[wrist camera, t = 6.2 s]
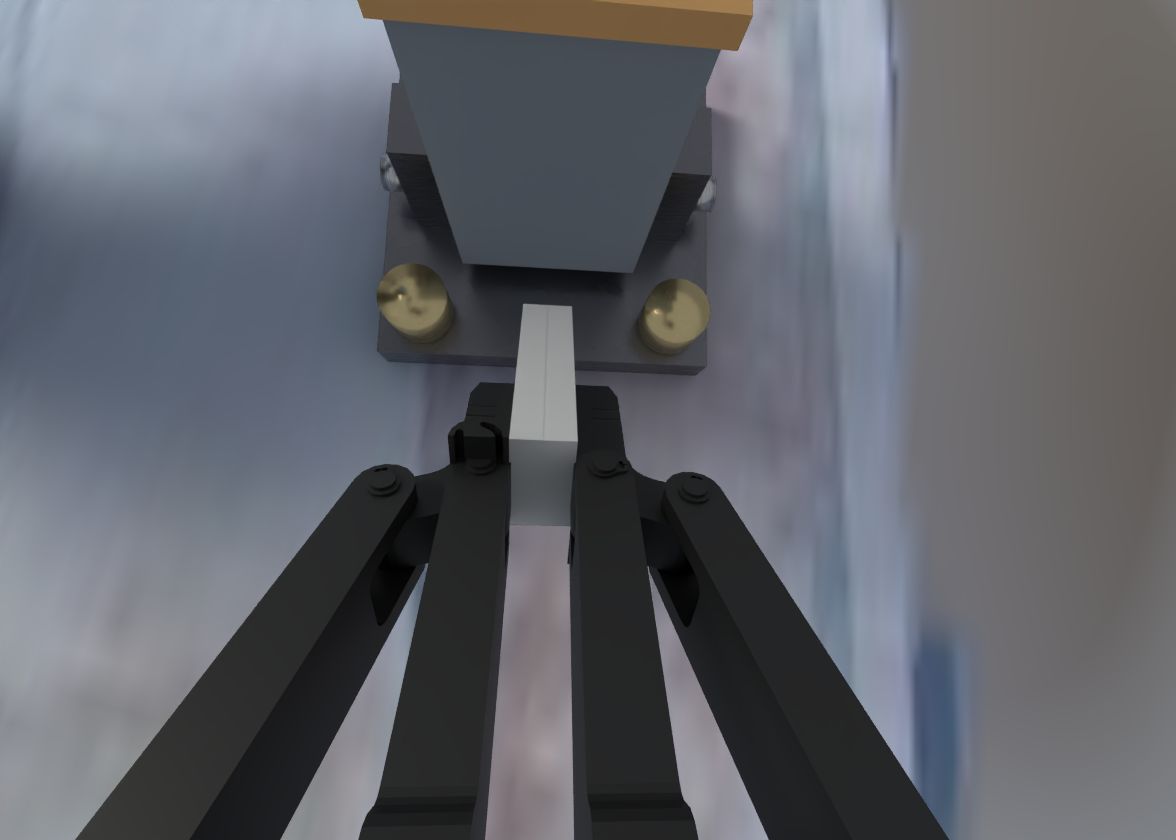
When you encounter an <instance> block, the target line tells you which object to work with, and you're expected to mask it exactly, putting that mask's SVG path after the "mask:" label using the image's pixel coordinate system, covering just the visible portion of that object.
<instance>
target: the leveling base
mask: <svg viewBox="0 0 1176 840" xmlns="http://www.w3.org/2000/svg"><path fill="white" fill-rule="evenodd" d="M380 170H381V180H382V184H383V187H384V189H385V190H386V191H390V201H389V213H388V226H387V238H386V250H385V262H384V274H383V278H382V280H381V282H380V284H379V286H378V290H377V302H378V306H379V308H380V323H379V335H378V347H377V352H379V353H380V354H381V355H382V356H383V357H384V358H385V359H386V360H387V361H391V362H414V363H436V364H458V365H480V366H503V367H517V359H518V350H519V340H520V331H521V321H522V312H523V304H537V305H555V306H572V321H573V344H574V367H575V370H592V371H614V372H636V373H658V374H681V375H697V374H698V373H699V372H700V371H701V370H703V369H704V368H705V367H706V326H707V324H708V322H709V319H710V304H709V301H708V298H707V296H706V212H711V211H712V209H713V206H714V203H715V198H716V190H717V183H716V178H715V177H711V108H706V88H705V91H704V94H703V96H702V99H701V101H700V104H699V106H698V109H697V111H696V114H695V116H694V119H693V121H692V124H691V127H690V129H689V132H688V134H687V137H686V139H685V142H684V144H683V147H682V149H681V152H680V155H679V157H678V160H677V162H676V165H675V167H674V170H673V172H672V175H671V177H670V180H669V182H668V185H667V188H666V190H665V193H664V195H663V198H662V200H661V203H660V205H659V208H658V210H657V213H656V216H655V218H654V221H653V223H652V226H651V228H650V231H649V233H648V236H647V238H646V241H645V243H644V246H643V249H642V251H641V254H640V256H639V259H638V261H637V264H636V266H635V269H634V271H633V273H621V272H604V271H587V270H569V269H552V268H535V267H518V266H500V265H483V264H466V263H462V260H461V257H460V254H459V250H458V247H457V244H456V241H455V238H454V235H453V232H452V229H451V226H450V223H449V220H448V217H447V214H446V211H445V208H444V205H443V202H442V199H441V196H440V193H439V190H438V187H437V184H436V181H435V177H434V174H433V171H432V168H431V165H430V162H429V159H428V156H427V153H426V150H425V147H424V144H423V141H422V138H421V135H420V132H419V129H418V126H417V123H416V120H415V117H414V114H413V111H412V108H411V105H410V101H409V98H408V95H407V92H406V89H405V86H404V83H403V80H402V77H401V74H400V80H399V83H392V91H391V103H390V114H389V126H388V138H387V150H386V153H383V154H382V157H381V164H380Z"/></svg>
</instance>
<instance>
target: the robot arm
mask: <svg viewBox="0 0 1176 840" xmlns="http://www.w3.org/2000/svg"><path fill="white" fill-rule="evenodd" d="M448 444H449V455H450V464H449V465H448V466H446V467H445V468H443V469H441V470H439V471H436V472H433V473H429V474H425V475H420V476H415V477H414V475H413V474H412V473H411V472H410V471H409V470H408V469H407V468H405V467H402V466H399V465H391V464H384V465H379V466H374V467H372V468H370V469H367V470H365V471H363V472H362V473H361V474H360V475H359V476H357V477H356V478H355V479H354V481H353V482H352V483H351V484H350V486H349V487H348V488H347V490H346V491H345V492H344V493H343V495H342V496H341V497H340V499H339V500H338V501H337V502H336V504H335V505H334V506H333V508H332V509H331V510H330V512H329V513H328V514H327V515H326V517H325V518H324V519H323V521H322V522H321V523H320V524H319V526H318V527H317V528H316V530H315V531H314V532H313V533H312V535H311V536H310V537H309V539H308V540H307V541H306V543H305V544H304V545H303V546H302V548H301V549H300V550H299V552H298V553H297V554H296V555H295V557H294V558H293V559H292V561H291V562H290V563H289V564H288V566H287V567H286V568H285V570H284V571H283V572H282V574H281V575H280V576H279V577H278V579H277V580H276V581H275V583H274V584H273V585H272V586H271V588H270V589H269V590H268V592H267V593H266V594H265V595H264V597H263V598H262V599H261V601H260V602H259V603H258V604H257V606H256V607H255V608H254V610H253V611H252V612H251V614H250V615H249V616H248V617H247V619H246V620H245V621H244V623H243V624H242V625H241V626H240V628H239V629H238V630H237V632H236V633H235V634H234V635H233V637H232V638H231V639H230V641H229V642H228V643H227V645H226V646H225V647H224V648H223V650H222V651H221V652H220V654H219V655H218V656H217V657H216V659H215V660H214V661H213V663H212V664H211V665H210V666H209V668H208V669H207V670H206V672H205V673H204V674H203V676H202V677H201V678H200V679H199V681H198V682H197V683H196V685H195V686H194V687H193V688H192V690H191V691H190V692H189V694H188V695H187V696H186V697H185V699H184V700H183V701H182V703H181V704H180V705H179V706H178V708H177V709H176V710H175V712H174V713H173V714H172V716H171V717H170V718H169V719H168V721H167V722H166V723H165V725H164V726H163V727H162V728H161V730H160V731H159V732H158V734H157V735H156V736H155V737H154V739H153V740H152V741H151V743H150V744H149V745H148V747H147V748H146V749H145V750H144V752H143V753H142V754H141V756H140V757H139V758H138V759H137V761H136V762H135V763H134V765H133V766H132V767H131V768H130V770H129V771H128V772H127V774H126V775H125V776H124V778H123V779H122V780H121V781H120V783H119V784H118V785H117V787H116V788H115V789H114V790H113V792H112V793H111V794H110V796H109V797H108V798H107V799H106V801H105V802H104V803H103V805H102V806H101V807H100V808H99V810H98V811H97V812H96V814H95V815H94V816H93V818H92V819H91V820H90V821H89V823H88V824H87V825H86V827H85V828H84V829H83V830H82V832H81V833H80V834H79V836H78V837H77V838H76V839H75V840H280V839H281V837H282V835H283V833H284V832H285V830H286V828H287V826H288V824H289V822H290V820H291V818H292V816H293V815H294V813H295V811H296V809H297V807H298V805H299V803H300V801H301V800H302V798H303V796H304V794H305V792H306V790H307V788H308V786H309V785H310V783H311V781H312V779H313V777H314V775H315V773H316V771H317V769H318V768H319V766H320V764H321V762H322V760H323V758H324V756H325V754H326V753H327V751H328V749H329V747H330V745H331V743H332V741H333V739H334V738H335V736H336V734H337V732H338V730H339V728H340V726H341V724H342V722H343V721H344V719H345V717H346V715H347V713H348V711H349V709H350V707H351V706H352V704H353V702H354V700H355V698H356V696H357V694H358V692H359V691H360V689H361V687H362V685H363V683H364V681H365V679H366V677H367V675H368V674H369V672H370V670H371V668H372V666H373V664H374V662H375V660H376V659H377V657H378V655H379V653H380V651H381V649H382V647H383V645H384V643H385V642H386V640H387V638H388V636H389V634H390V632H391V630H392V628H393V627H394V625H395V623H396V621H397V619H398V617H399V615H400V613H401V612H402V610H403V608H404V606H405V604H406V602H407V600H408V598H409V596H410V595H411V593H412V591H413V589H414V587H415V585H416V583H417V581H418V580H419V578H420V576H421V574H422V572H423V570H424V568H425V564H426V563H429V564H428V569H427V573H426V578H425V582H424V587H423V592H422V596H421V601H420V605H419V610H418V615H417V619H416V624H415V628H414V633H413V638H412V642H411V647H410V651H409V656H408V661H407V665H406V670H405V674H404V679H403V684H402V688H401V693H400V697H399V702H398V707H397V711H396V716H395V720H394V725H393V730H392V734H391V739H390V743H389V748H388V753H387V757H386V762H385V766H384V771H383V776H382V780H381V785H380V789H379V793H378V797H377V800H376V802H375V805H374V806H373V807H372V809H371V810H370V811H369V812H368V814H367V815H366V818H365V820H364V823H363V825H362V828H361V832H360V836H359V839H358V840H485V832H486V820H487V808H488V796H489V784H490V772H491V759H492V747H493V735H494V723H495V711H496V699H497V686H498V674H499V662H500V650H501V638H502V626H503V613H504V601H505V589H506V577H507V565H508V553H509V526H510V525H543V526H570V525H571V529H570V540H569V552H568V563H567V564H570V618H571V677H572V737H573V796H574V840H698V835H697V830H696V825H695V820H694V817H693V814H692V812H691V809H690V807H689V806H688V805H687V803H686V802H685V801H684V799H683V796H682V793H681V788H680V783H679V776H678V769H677V763H676V756H675V749H674V743H673V736H672V729H671V722H670V716H669V709H668V702H667V696H666V689H665V682H664V675H663V669H662V662H661V655H660V649H659V642H658V635H657V628H656V622H655V615H654V608H653V602H652V595H651V588H650V581H649V575H648V568H647V566H649V571H650V574H651V576H652V578H653V580H654V583H655V585H656V587H657V589H658V592H659V594H660V596H661V598H662V601H663V603H664V605H665V607H666V610H667V612H668V614H669V616H670V619H671V621H672V623H673V625H674V628H675V630H676V632H677V634H678V637H679V639H680V641H681V643H682V646H683V648H684V650H685V652H686V655H687V657H688V659H689V661H690V664H691V666H692V668H693V670H694V673H695V675H696V677H697V679H698V682H699V684H700V686H701V688H702V691H703V693H704V695H705V697H706V700H707V702H708V704H709V706H710V709H711V711H712V713H713V715H714V718H715V720H716V722H717V724H718V727H719V729H720V731H721V733H722V736H723V738H724V740H725V742H726V745H727V747H728V749H729V751H730V753H731V756H732V758H733V760H734V762H735V765H736V767H737V769H738V771H739V774H740V776H741V778H742V780H743V783H744V785H745V787H746V789H747V792H748V794H749V796H750V798H751V801H752V803H753V805H754V807H755V810H756V812H757V814H758V816H759V819H760V821H761V823H762V825H763V828H764V830H765V832H766V834H767V837H768V839H769V840H949V839H948V837H947V836H946V834H945V833H944V831H943V830H942V828H941V826H940V825H939V823H938V822H937V820H936V819H935V817H934V816H933V814H932V813H931V811H930V810H929V808H928V806H927V805H926V803H925V802H924V800H923V799H922V797H921V796H920V794H919V793H918V791H917V790H916V788H915V786H914V785H913V783H912V782H911V780H910V779H909V777H908V776H907V774H906V773H905V771H904V770H903V768H902V766H901V765H900V763H899V762H898V760H897V759H896V757H895V756H894V754H893V753H892V751H891V750H890V748H889V746H888V745H887V743H886V742H885V740H884V739H883V737H882V736H881V734H880V733H879V731H878V730H877V728H876V726H875V725H874V723H873V722H872V720H871V719H870V717H869V716H868V714H867V713H866V711H865V710H864V708H863V706H862V705H861V703H860V702H859V700H858V699H857V697H856V696H855V694H854V693H853V691H852V690H851V688H850V686H849V685H848V683H847V682H846V680H845V679H844V677H843V676H842V674H841V673H840V671H839V670H838V668H837V666H836V665H835V663H834V662H833V660H832V659H831V657H830V656H829V654H828V653H827V651H826V650H825V648H824V646H823V645H822V643H821V642H820V640H819V639H818V637H817V636H816V634H815V633H814V631H813V630H812V628H811V626H810V625H809V623H808V622H807V620H806V619H805V617H804V616H803V614H802V613H801V611H800V610H799V608H798V606H797V605H796V603H795V602H794V600H793V599H792V597H791V596H790V594H789V593H788V591H787V590H786V588H785V586H784V585H783V583H782V582H781V580H780V579H779V577H778V576H777V574H776V573H775V571H774V570H773V568H772V566H771V565H770V563H769V562H768V560H767V559H766V557H765V556H764V554H763V553H762V551H761V550H760V548H759V546H758V545H757V543H756V542H755V540H754V539H753V537H752V536H751V534H750V533H749V531H748V530H747V528H746V526H745V525H744V523H743V522H742V520H741V519H740V517H739V516H738V514H737V513H736V511H735V510H734V508H733V506H732V505H731V503H730V502H729V500H728V499H727V497H726V496H725V494H724V493H723V491H722V490H721V488H720V487H719V486H718V485H717V484H716V483H715V482H714V481H713V480H712V479H710V478H708V477H706V476H705V475H702V474H698V473H694V472H681V473H678V474H675V475H673V476H671V477H670V478H669V479H668V480H667V482H666V483H665V482H662V481H658V480H654V479H651V478H648V477H646V476H643V475H642V474H640V473H638V472H637V471H635V470H634V469H633V468H632V466H631V464H630V462H629V461H628V460H627V458H626V455H625V448H624V440H623V433H622V426H621V422H620V412H619V405H618V398H617V396H616V395H615V394H614V393H613V391H612V390H611V389H610V388H609V387H608V386H585V385H575V367H574V344H573V321H572V306H555V305H537V304H523V312H522V321H521V331H520V340H519V350H518V359H517V368H516V378H515V384H509V383H485V382H480V383H479V384H478V386H477V387H476V388H475V389H474V390H473V391H472V392H471V393H470V398H469V403H468V408H467V412H466V417H465V421H463V422H460V423H458V424H457V425H456V426H454V427H453V428H452V429H451V431H450V432H449V434H448Z"/></svg>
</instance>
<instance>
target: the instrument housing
mask: <svg viewBox="0 0 1176 840" xmlns="http://www.w3.org/2000/svg"><path fill="white" fill-rule="evenodd" d="M357 1H358V3H359V6H360V9H361V12H362V14H363V17H364V18H369V19H380V20H383V22H384V25H385V29H386V32H387V35H388V38H389V41H390V44H391V47H392V50H393V53H394V56H395V59H396V62H397V65H398V68H399V71H400V74H401V77H402V80H403V83H404V86H405V89H406V92H407V95H408V98H409V101H410V105H411V108H412V111H413V114H414V117H415V120H416V123H417V126H418V129H419V132H420V135H421V138H422V141H423V144H424V147H425V150H426V153H427V156H428V159H429V162H430V165H431V168H432V171H433V174H434V177H435V181H436V184H437V187H438V190H439V193H440V196H441V199H442V202H443V205H444V208H445V211H446V214H447V217H448V220H449V223H450V226H451V229H452V232H453V235H454V238H455V241H456V244H457V247H458V250H459V254H460V257H461V260H462V263H466V264H483V265H500V266H518V267H535V268H552V269H569V270H587V271H604V272H621V273H633V271H634V269H635V266H636V264H637V261H638V259H639V256H640V254H641V251H642V249H643V246H644V243H645V241H646V238H647V236H648V233H649V231H650V228H651V226H652V223H653V221H654V218H655V216H656V213H657V210H658V208H659V205H660V203H661V200H662V198H663V195H664V193H665V190H666V188H667V185H668V182H669V180H670V177H671V175H672V172H673V170H674V167H675V165H676V162H677V160H678V157H679V155H680V152H681V149H682V147H683V144H684V142H685V139H686V137H687V134H688V132H689V129H690V127H691V124H692V121H693V119H694V116H695V114H696V111H697V109H698V106H699V104H700V101H701V99H702V96H703V94H704V91H705V88H706V86H707V83H708V81H709V78H710V76H711V73H712V71H713V68H714V66H715V63H716V61H717V58H718V55H719V53H720V50H733V51H738V49H739V47H740V45H741V42H742V40H743V38H744V35H745V33H746V31H747V28H748V26H749V24H750V21H751V19H752V17H753V0H357Z"/></svg>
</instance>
